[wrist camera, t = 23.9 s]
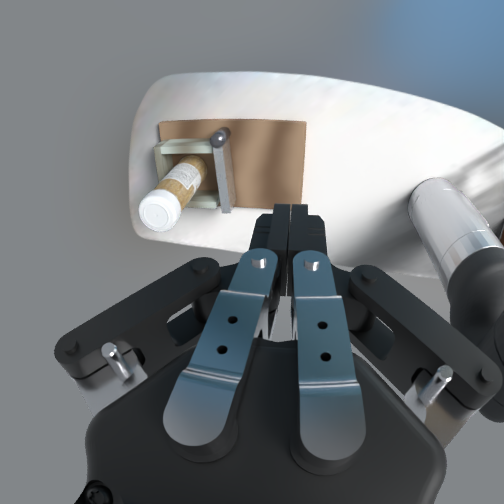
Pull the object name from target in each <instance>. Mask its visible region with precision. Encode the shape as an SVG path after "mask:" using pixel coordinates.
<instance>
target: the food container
mask: <svg viewBox="0 0 504 504" xmlns="http://www.w3.org/2000/svg"><path fill="white" fill-rule="evenodd" d="M499 241H500V242H501V244H502V245H503V247H504V225H503V228H502V232H501V235H500V238H499Z"/></svg>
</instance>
